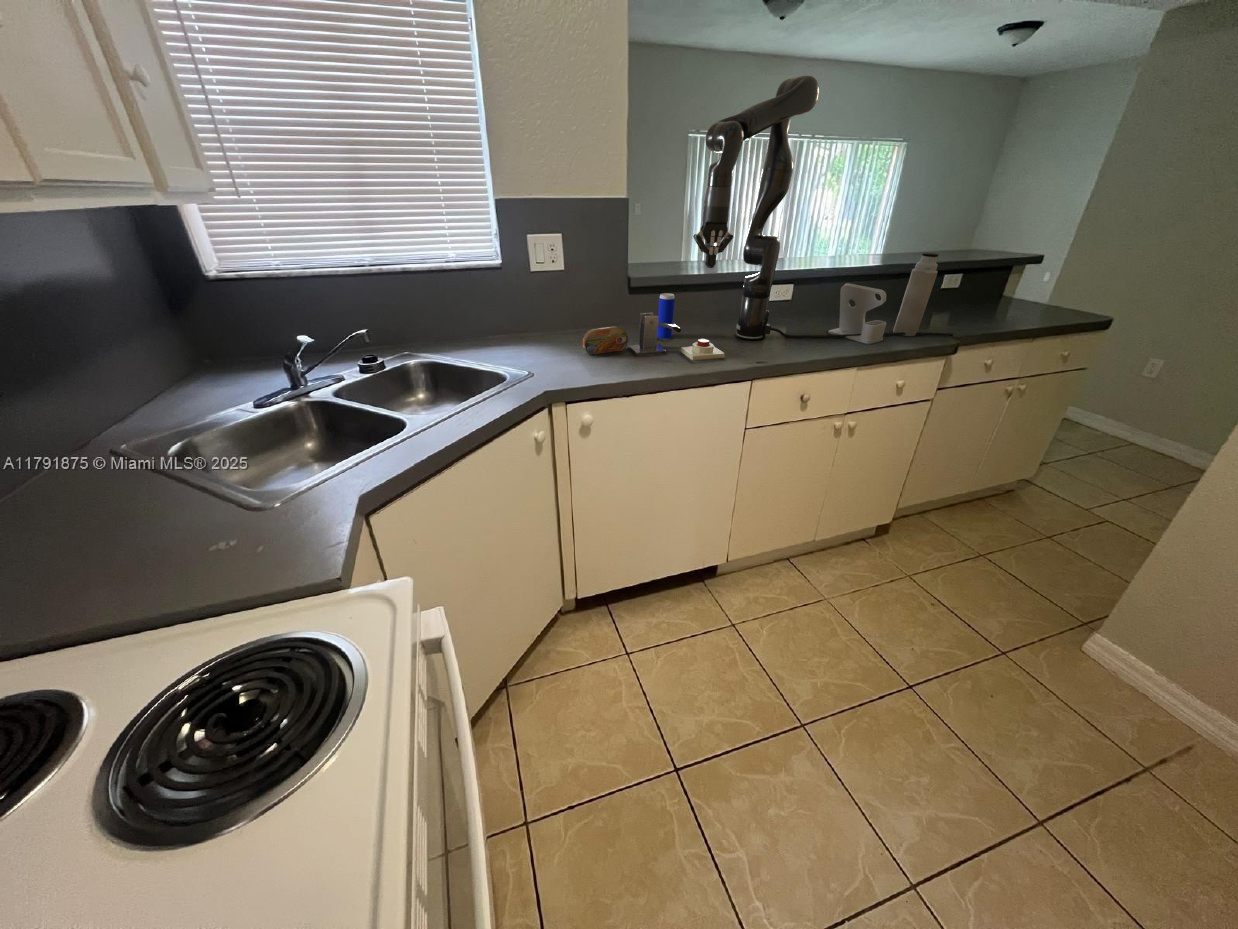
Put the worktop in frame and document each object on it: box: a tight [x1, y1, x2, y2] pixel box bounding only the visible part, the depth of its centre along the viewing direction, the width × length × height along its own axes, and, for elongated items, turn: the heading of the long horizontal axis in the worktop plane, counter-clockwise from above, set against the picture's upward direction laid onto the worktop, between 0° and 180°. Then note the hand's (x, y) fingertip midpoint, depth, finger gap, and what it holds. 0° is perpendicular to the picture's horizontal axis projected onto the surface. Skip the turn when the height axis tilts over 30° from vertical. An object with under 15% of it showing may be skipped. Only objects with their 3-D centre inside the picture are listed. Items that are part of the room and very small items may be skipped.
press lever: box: [643, 315, 682, 333], centre depth 154 cm, size 12×5×2 cm, turn 109°
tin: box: [582, 325, 629, 356], centre depth 152 cm, size 15×3×8 cm, turn 117°
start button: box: [697, 338, 711, 347], centre depth 152 cm, size 4×4×2 cm
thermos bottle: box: [892, 252, 939, 337], centre depth 176 cm, size 8×8×28 cm
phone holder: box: [828, 282, 887, 345], centre depth 174 cm, size 17×10×18 cm, turn 34°
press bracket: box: [628, 312, 667, 355], centre depth 155 cm, size 10×8×12 cm
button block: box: [680, 341, 726, 361], centre depth 153 cm, size 11×9×4 cm
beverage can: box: [657, 292, 676, 340], centre depth 167 cm, size 5×5×15 cm
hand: (710, 267), depth 151 cm, fingers closed
